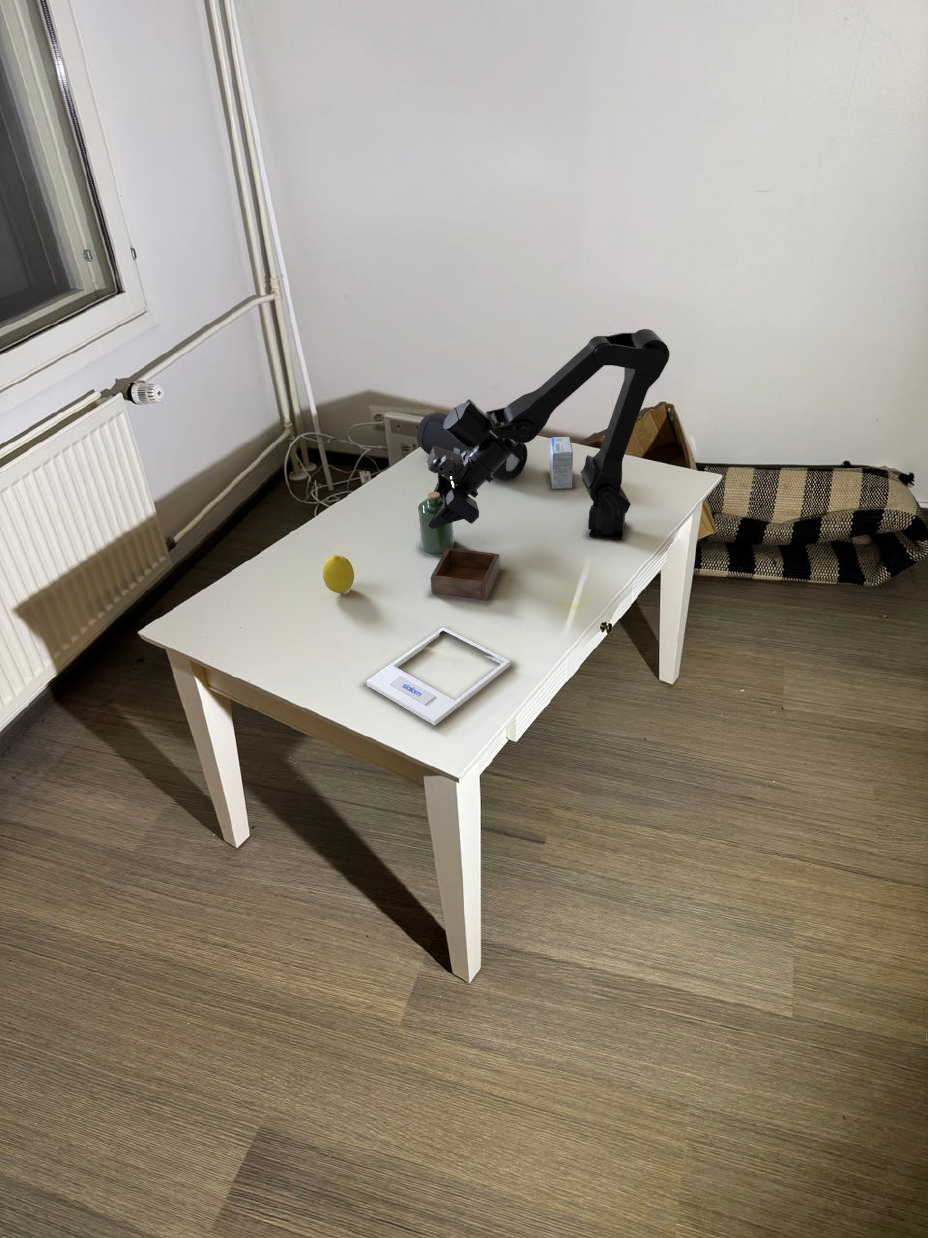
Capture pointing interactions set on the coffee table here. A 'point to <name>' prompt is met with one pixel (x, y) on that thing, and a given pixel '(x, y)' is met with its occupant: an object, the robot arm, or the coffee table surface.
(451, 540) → the bottle
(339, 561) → the lemon
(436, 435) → the portable speaker
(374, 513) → the coffee table surface
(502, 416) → the robot arm
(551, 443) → the medicine box
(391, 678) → the photo frame
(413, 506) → the coffee table surface
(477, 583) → the crate
